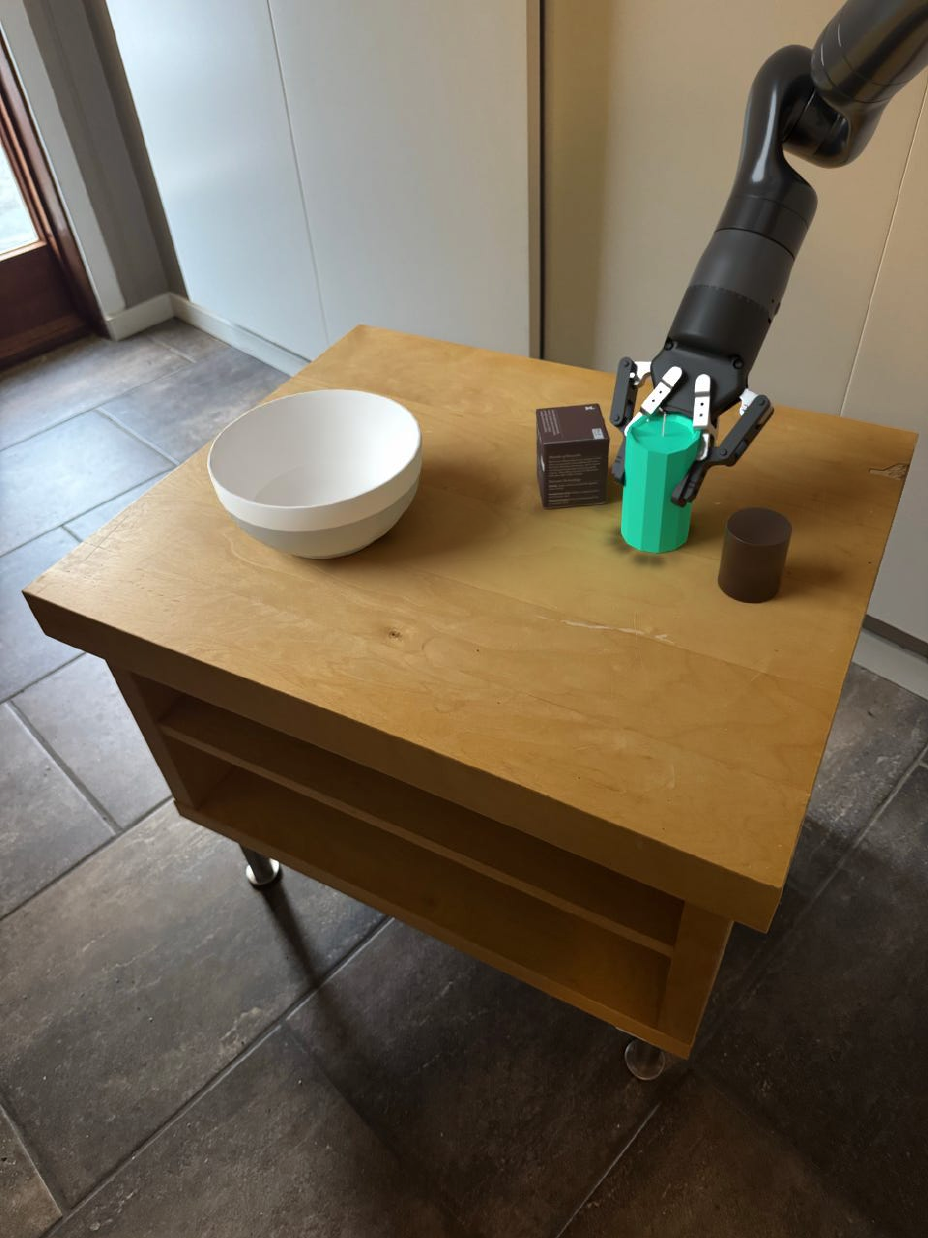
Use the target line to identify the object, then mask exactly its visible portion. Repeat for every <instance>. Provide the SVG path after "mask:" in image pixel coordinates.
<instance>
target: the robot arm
mask: <svg viewBox="0 0 928 1238" xmlns="http://www.w3.org/2000/svg"><path fill="white" fill-rule="evenodd" d="M927 67H928V0H846V1H845V2H844V3H843V5H842V6H841V7H840V8H839V10H838V11H837V12H836V13H835V15H834V16H833V17H832V18H831V19H830V20H829V22H828V23H827V24H826V25H825V26H824V28H823V30H822V31H821V32H820V34H819V36H818V37H817V39H816V41H815V43H814V45H813V47H812V48H810V47H808V46H806V45H801V44H789V45H785V46H783V47H781V48H779V49H778V50H776V51H774V53H772V54H771V55H770V56H768V58H767V59H766V60H765V61H764V62H763V64H762V65H761V66H760V68H759V69H758V71H757V73H756V75H755V77H754V78H753V81H752V83H751V86H750V90H749V91H748V92H749V93H748V97H747V101H746V106H745V113H744V120H743V129H742V136H741V145H740V152H739V158H738V163H737V167H736V171H735V172H736V173H735V177H734V179H733V180H734V181H733V184H732V187H731V190H730V193H729V195H728V198H727V200H726V203H725V205H724V207H723V210H722V212H721V214H720V216H719V219H718V222H717V224H716V226H715V229H714V231H713V234H712V236H711V238H710V240H709V242H708V244H707V245H706V247H705V249H704V251H703V252H702V254H701V255H700V257H699V259H698V262H697V264H696V266H695V268H694V271H693V273H692V275H691V278H690V280H689V282H688V285H687V287H686V290H685V292H684V293H683V294H684V295H683V297H682V299H681V301H680V304H679V306H678V309H677V311H676V313H675V316H674V318H673V320H672V323H671V325H670V327H669V330H668V332H667V335H666V338H665V341H664V343H663V347H662V348H661V350H660V351H659V352H658V354H657V355H655V356H654V357H653V358H652V360H651V361H634V360H633V359H632V358H631V357H629V356H624V357H622V358H621V359H620V360H619V362H618V365H617V372H616V378H615V383H614V389H613V394H612V401H611V407H610V412H609V418H608V419H609V420H608V421H609V423H610V424H611V425H612V426H613V427H615V428H616V429H617V430H618V431H620V433H621V434H622V437H623V438H622V442H621V444H620V447H619V449H618V451H617V454H616V456H615V459H614V461H613V463H612V464H611V465H612V466H611V474H612V475H613V482H614V483H615V484H617V485H618V486H620V487H623V488H624V479H625V453H626V435H627V430H628V428H629V426H630V425H631V424H632V423H633V422H635V421H636V420H637V419H638V418H639V417H641V416H642V415H645V416H647V417H648V421H650V420H651V419H652V418H653V417H655V416H658V415H664V414H666V415H669V414H681V415H683V416H685V417H687V418H690V419H693V420H694V421H693V430H694V434H695V433H696V432H697V431H701V432H700V438H699V444H698V450H697V455H696V456H695V459H696V462H695V461H693V463H692V465H691V466H690V468H689V470H688V471H687V473H686V475H685V477H684V478H683V480H681V481H680V482H679V483H678V484H676V486H675V489H674V491H673V493H672V496H671V502H672V503H673V504H674V505H676V506H679V507H682V508H684V507H685V505H686V504H687V502H689V503H692V504H693V502H694V501H695V500H696V499H697V497H698V494H699V492H700V490H701V487H702V485H703V483H704V481H705V478H706V475H707V473H708V471H709V470H710V469H711V468H713V467H715V466H725V467H727V468H732V467H734V466H736V464H737V463H738V462H739V461H740V459H741V458H742V456H743V455H744V454H745V453H746V451H747V450H748V449H749V447H750V446H751V444H753V442H754V441H755V439H756V438H757V437H758V435H759V434H760V432H761V431H762V430H763V429H764V427H765V426H766V425H767V423H768V422H769V420H770V419H771V418H772V416H773V415H774V413H775V407H774V406H773V403H772V401H771V400H770V398H768V396H767V395H765V394H758V393H756V392H754V391H753V390H751V389H749V376H750V373H751V371H752V369H753V367H754V365H755V363H756V360H757V358H758V356H759V354H760V352H761V349H762V346H763V344H764V343H765V342H764V341H765V339H766V338H767V334H768V333H769V330H770V328H771V326H772V323H773V321H774V319H775V317H776V316H777V315H778V312H779V311H780V308H781V305H782V300H783V298H784V295H785V293H786V290H787V287H788V283H789V280H790V277H791V273H792V270H793V268H794V264H795V262H796V260H797V258H798V255H799V253H800V251H801V249H802V246H803V244H804V241H805V239H806V237H807V235H808V232H809V230H810V227H811V226H812V223H813V221H814V218H815V215H816V212H817V209H818V204H819V198H818V194H817V192H816V190H815V188H814V187H813V186H812V184H811V183H810V182H809V181H808V180H807V179H806V178H805V177H803V176H802V175H801V174H800V173H799V172H798V171H797V170H795V169H794V168H793V166H792V165H791V164H790V163H789V162H788V160H787V159H786V157H785V153H784V152H786V153H788V154H790V155H792V156H794V157H797V158H799V160H802V161H805V162H807V163H809V164H811V165H812V166H815V167H818V168H821V169H827V170H832V169H833V170H834V169H839V168H843V167H846V166H848V165H850V164H851V163H853V162H855V160H856V159H858V158H859V157H860V156H861V154H863V152H864V151H865V150H866V148H867V146H868V145H869V143H870V141H871V140H872V138H873V136H874V134H875V132H876V129H878V125H879V123H880V120H881V118H882V116H883V113H884V111H885V110H886V108H887V106H888V105H889V104H890V102H891V101H892V99H893V98H894V97H895V95H897V94H898V93H899V92H900V91H901V90H902V89H903V88H904V87H906V86H907V85H908V84H909V83H910V82H911V81H912V80H914V78H916V77H917V76H918V75H919V74H920V73H921V72H922V71H924V69H926V68H927ZM649 377H650V378H651V382H652V388H653V391H652V392H651V393H650V394H649V395H648V396H647V398H646V399H645V400H644V401H643V403H642V404H641V405H640V407H639V411H638V412H637V414H636V415H635V410H636V406H637V405H636V404H637V398H638V392H639V389H640V388H643V387H644V385H645V383H646V382H647V379H648V378H649ZM739 403H741V405H740V408H739V415H740V417H739V419H738V420H737V422H735V424H734V426H732V428H731V429H730V431H729V432H728V433H727V435H726V436H725V437H724V438H723V440H722V441H721V443H720V444H719V445H718V446H717V440H718V439H719V431H720V418H721V417H720V416H722V415H723V414H725V413H726V412H727V411H729V410H730V409H732V408H733V407H735V406H736V405H738V404H739ZM648 421H647V422H648Z"/></svg>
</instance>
